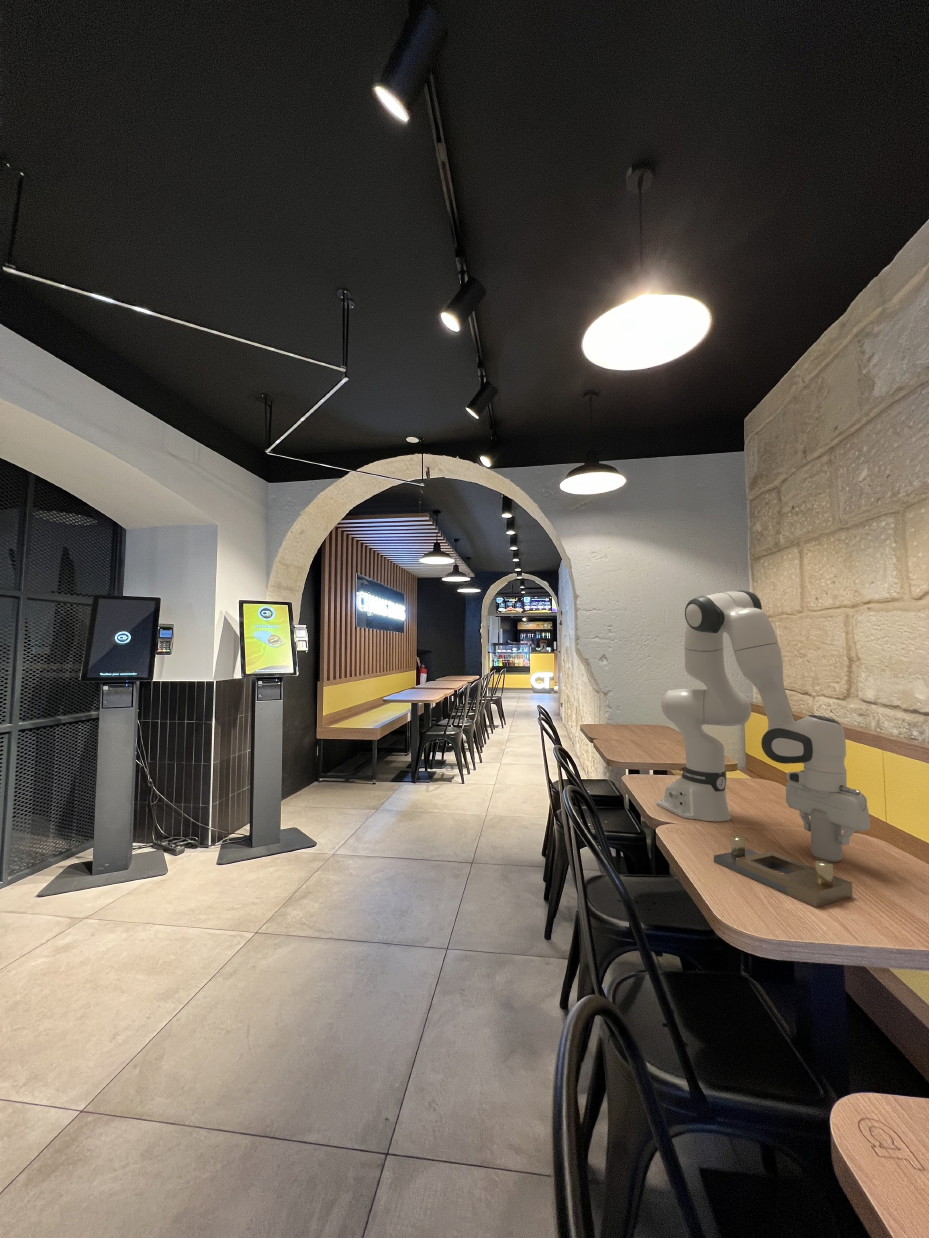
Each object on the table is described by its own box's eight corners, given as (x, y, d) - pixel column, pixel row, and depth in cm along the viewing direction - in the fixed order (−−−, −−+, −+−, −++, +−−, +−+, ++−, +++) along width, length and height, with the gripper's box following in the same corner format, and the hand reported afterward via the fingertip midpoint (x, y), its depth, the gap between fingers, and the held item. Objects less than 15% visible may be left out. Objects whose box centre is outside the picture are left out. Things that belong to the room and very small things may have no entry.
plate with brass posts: (713, 861, 125) (713, 832, 125) (747, 854, 130) (747, 826, 130) (816, 907, 103) (816, 871, 103) (852, 896, 108) (851, 862, 108)
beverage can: (847, 864, 125) (846, 814, 126) (818, 861, 126) (817, 811, 127) (834, 854, 131) (833, 806, 132) (806, 852, 132) (805, 804, 133)
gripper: (876, 791, 120) (877, 852, 119) (800, 771, 140) (800, 823, 139) (855, 792, 119) (856, 854, 118) (781, 771, 139) (781, 824, 138)
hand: (825, 837), depth 129 cm, fingers open, 8 cm apart
